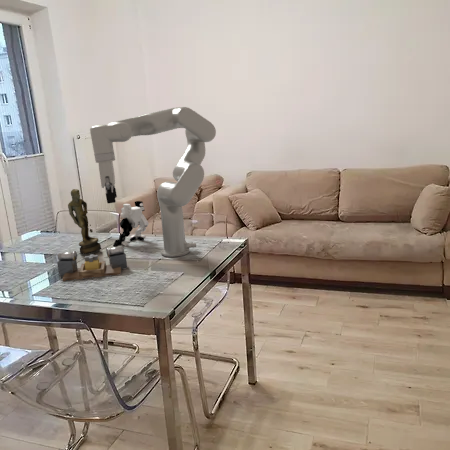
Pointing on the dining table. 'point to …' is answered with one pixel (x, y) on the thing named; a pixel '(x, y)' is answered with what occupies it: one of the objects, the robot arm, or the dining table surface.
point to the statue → (82, 223)
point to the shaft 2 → (117, 257)
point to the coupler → (92, 262)
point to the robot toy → (132, 223)
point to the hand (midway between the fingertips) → (112, 200)
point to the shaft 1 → (67, 263)
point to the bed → (92, 272)
